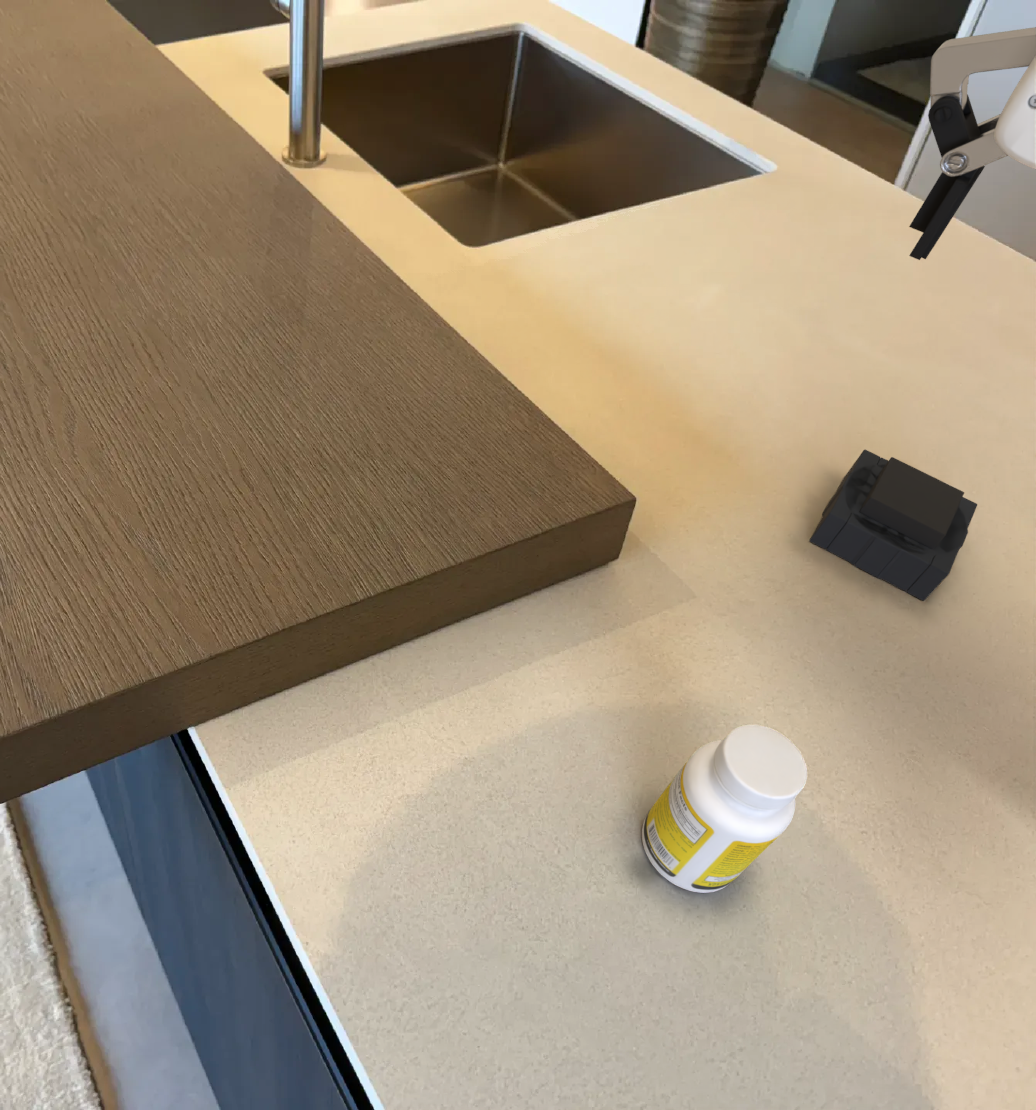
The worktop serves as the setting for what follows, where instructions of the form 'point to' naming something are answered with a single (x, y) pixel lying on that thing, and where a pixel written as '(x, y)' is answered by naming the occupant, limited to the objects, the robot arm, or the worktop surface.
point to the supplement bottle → (724, 808)
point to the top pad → (912, 502)
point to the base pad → (886, 535)
